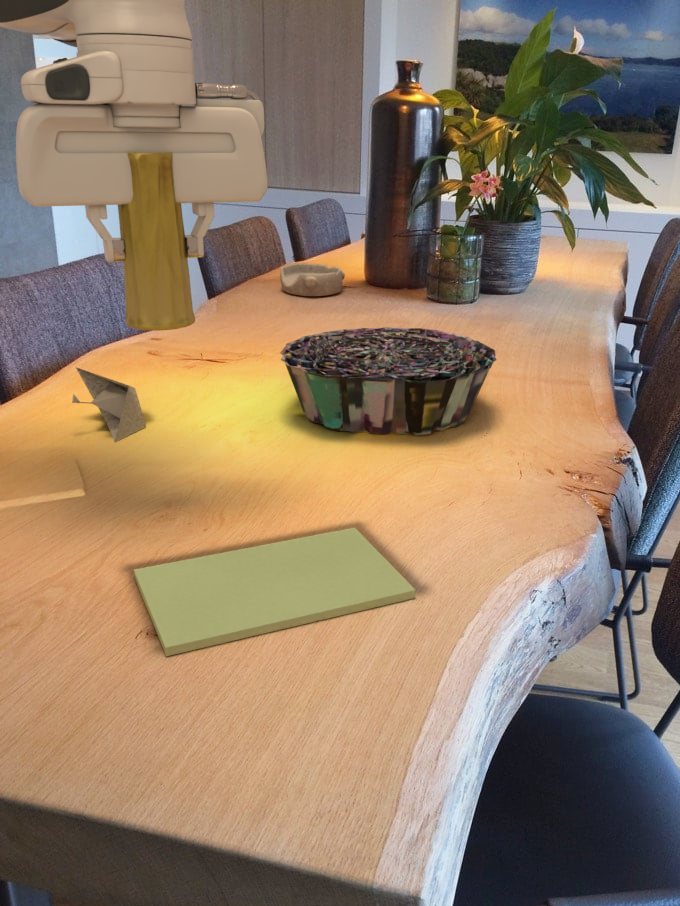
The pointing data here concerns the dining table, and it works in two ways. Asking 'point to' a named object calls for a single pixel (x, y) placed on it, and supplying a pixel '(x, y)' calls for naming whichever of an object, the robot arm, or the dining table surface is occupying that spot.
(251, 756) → the dining table surface
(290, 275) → the dish
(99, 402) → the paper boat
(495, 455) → the dining table surface
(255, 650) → the dining table surface
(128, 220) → the vase
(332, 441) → the dining table surface
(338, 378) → the decorative bowl
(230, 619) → the mat
